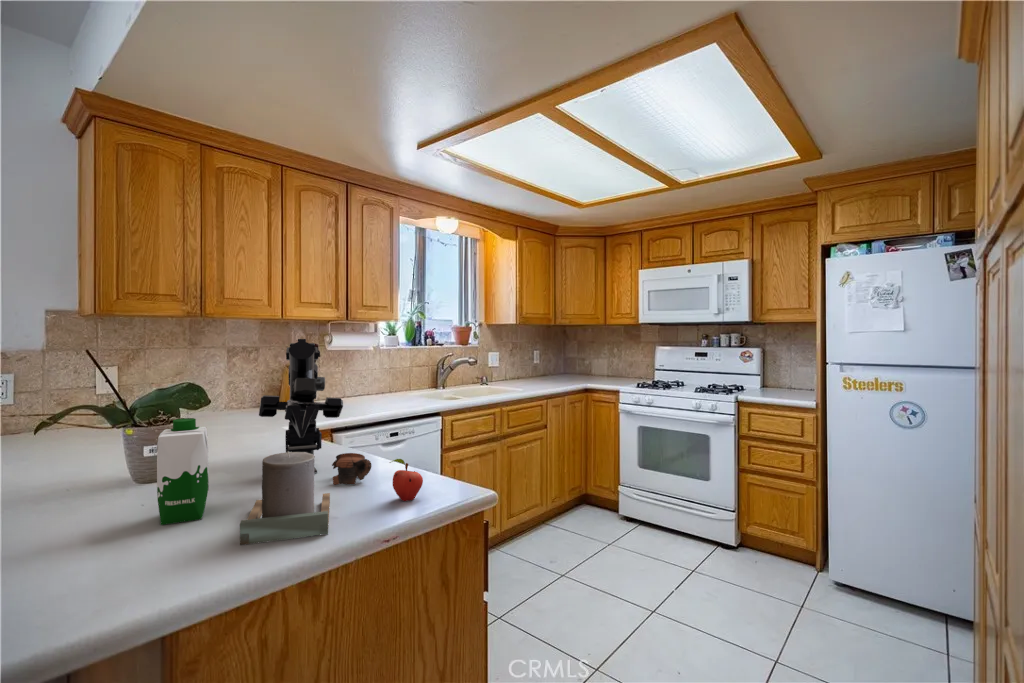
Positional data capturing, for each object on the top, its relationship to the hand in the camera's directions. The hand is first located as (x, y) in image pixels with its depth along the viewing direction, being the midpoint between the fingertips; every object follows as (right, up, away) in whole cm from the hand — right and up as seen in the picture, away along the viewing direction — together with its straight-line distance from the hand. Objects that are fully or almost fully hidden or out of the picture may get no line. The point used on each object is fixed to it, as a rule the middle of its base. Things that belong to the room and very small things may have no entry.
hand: (301, 437), depth 116 cm
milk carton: (-18, -14, -14) cm, 27 cm away
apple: (+26, -14, -3) cm, 30 cm away
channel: (+5, -14, -16) cm, 22 cm away
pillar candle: (+5, -14, -18) cm, 24 cm away
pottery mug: (+9, -14, +11) cm, 20 cm away
